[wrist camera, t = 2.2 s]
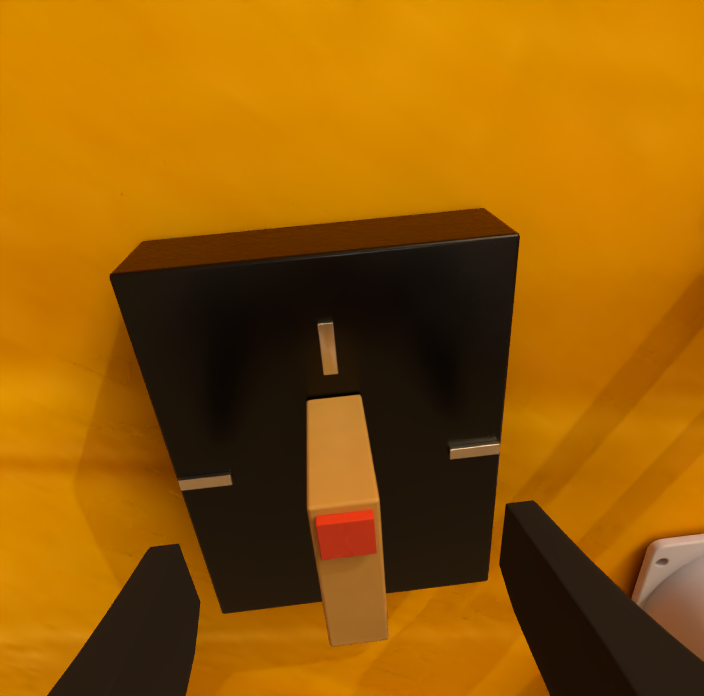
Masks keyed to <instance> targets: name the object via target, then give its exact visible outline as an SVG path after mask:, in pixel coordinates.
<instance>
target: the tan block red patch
mask: <svg viewBox="0 0 704 696" xmlns="http://www.w3.org/2000/svg"><path fill="white" fill-rule="evenodd" d="M306 473H307V514H308V520H309V526H310V532H311V537H312V543H313V549H314V555H315V561H316V567H317V573H318V579H319V585H320V591H321V596H322V602H323V608H324V614H325V620H326V626H327V632H328V638H329V643H330V645H331V646H333V647H335V646H343V645H350V644H358V643H366V642H374V641H381V640H387V639H388V636H389V632H388V617H387V602H386V587H385V572H384V557H383V542H382V527H381V512H380V499H379V493H378V487H377V482H376V476H375V470H374V465H373V459H372V453H371V448H370V442H369V436H368V431H367V425H366V419H365V414H364V408H363V402H362V397H361V396H360V395H350V396H341V397H332V398H323V399H314V400H308V401H307V403H306Z"/></svg>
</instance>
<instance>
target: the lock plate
mask: <svg viewBox="0 0 704 696" xmlns="http://www.w3.org/2000/svg"><path fill="white" fill-rule="evenodd" d="M519 239H520V236H519V233H517V232H516V231H514V230H513V229H512V228H510V227H509V226H508V225H506V224H505V223H504V222H502V221H501V220H500V219H498V218H497V217H495V216H494V215H493V214H491V213H490V212H489V211H487V210H486V209H484V208H480V209H470V210H459V211H449V212H439V213H429V214H418V215H408V216H398V217H388V218H377V219H367V220H357V221H347V222H336V223H326V224H316V225H306V226H295V227H285V228H275V229H265V230H254V231H244V232H234V233H224V234H213V235H203V236H193V237H183V238H172V239H162V240H152V241H143V242H141V243H140V244H139V245H138V246H137V247H136V248H135V249H134V250H133V251H132V252H131V254H130V255H129V256H128V257H127V258H126V259H125V260H124V261H123V262H122V263H121V264H120V265H119V266H118V267H117V268H116V269H115V270H114V271H113V272H112V273H111V274H110V281H111V284H112V287H113V289H114V292H115V295H116V298H117V301H118V304H119V307H120V310H121V313H122V316H123V319H124V322H125V325H126V328H127V331H128V334H129V337H130V340H131V343H132V346H133V349H134V352H135V355H136V358H137V361H138V364H139V367H140V370H141V373H142V376H143V379H144V382H145V385H146V388H147V390H148V393H149V396H150V399H151V402H152V405H153V408H154V411H155V414H156V417H157V420H158V423H159V426H160V429H161V432H162V435H163V438H164V441H165V444H166V447H167V450H168V453H169V456H170V459H171V462H172V465H173V468H174V471H175V474H176V477H177V480H178V483H179V486H180V489H181V491H182V494H183V497H184V500H185V503H186V506H187V509H188V512H189V515H190V518H191V521H192V524H193V527H194V530H195V533H196V536H197V539H198V542H199V545H200V548H201V551H202V554H203V557H204V560H205V563H206V566H207V569H208V572H209V575H210V578H211V581H212V584H213V587H214V589H215V592H216V595H217V598H218V601H219V604H220V607H221V610H222V613H223V614H227V613H235V612H243V611H251V610H259V609H267V608H275V607H283V606H291V605H299V604H307V603H315V602H322V596H321V591H320V585H319V579H318V573H317V567H316V561H315V555H314V549H313V543H312V537H311V532H310V526H309V520H308V514H307V473H306V403H307V401H308V400H314V399H323V398H332V397H341V396H350V395H360V396H361V397H362V402H363V408H364V414H365V419H366V425H367V431H368V436H369V442H370V448H371V453H372V459H373V465H374V470H375V476H376V482H377V487H378V493H379V499H380V512H381V527H382V542H383V557H384V572H385V587H386V593H394V592H402V591H410V590H418V589H426V588H434V587H442V586H450V585H458V584H466V583H474V582H482V581H487V580H488V571H489V561H490V550H491V539H492V528H493V518H494V507H495V496H496V486H497V475H498V464H499V453H500V443H501V432H502V421H503V411H504V400H505V389H506V378H507V368H508V357H509V346H510V336H511V325H512V314H513V303H514V293H515V282H516V271H517V261H518V250H519Z"/></svg>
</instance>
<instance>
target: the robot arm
mask: <svg viewBox="0 0 704 696" xmlns="http://www.w3.org/2000/svg"><path fill="white" fill-rule="evenodd" d="M499 565H500V568H501V572H502V575H503V578H504V581H505V585H506V588H507V591H508V594H509V597H510V600H511V603H512V607H513V610H514V613H515V615H516V617H517V620H518V622H519V624H520V627H521V629H522V631H523V634H524V636H525V638H526V641H527V643H528V645H529V648H530V650H531V652H532V655H533V657H534V659H535V661H536V664H537V666H538V668H539V671H540V673H541V675H542V678H543V680H544V682H545V684H546V687H547V689H548V691H549V694H550V696H704V534H696V535H688V536H680V537H672V538H664V539H658V540H656V541H654V542H652V543H651V544H650V545H649V546H648V548H647V551H646V555H645V558H644V561H643V564H642V567H641V570H640V573H639V576H638V579H637V582H636V585H635V588H634V591H633V594H632V597H631V598H630V597H629V596H628V595H626V594H625V593H624V592H623V591H622V590H621V589H620V588H619V587H618V586H617V585H616V584H615V583H614V582H613V581H612V580H611V579H610V578H609V577H608V576H607V575H606V574H605V573H604V572H603V571H602V570H600V569H599V568H598V567H597V566H596V565H595V564H594V563H593V562H592V561H591V560H590V559H589V558H588V557H587V556H586V555H585V554H584V553H583V552H582V551H581V550H580V549H579V547H578V546H577V545H576V544H575V543H574V542H573V541H572V540H571V539H570V538H569V537H568V536H567V535H566V534H565V533H564V532H563V531H562V530H561V529H560V528H559V527H558V526H557V525H556V523H555V522H554V521H553V520H552V519H551V518H550V517H549V516H548V515H547V514H546V513H545V512H544V511H543V510H542V508H541V507H540V506H539V505H538V504H537V503H536V502H534V501H525V502H517V503H508V504H506V508H505V517H504V527H503V536H502V545H501V554H500V563H499ZM199 610H200V600H199V597H198V595H197V592H196V589H195V586H194V584H193V581H192V578H191V576H190V573H189V570H188V567H187V565H186V562H185V559H184V557H183V554H182V551H181V548H180V546H179V544H172V545H164V546H155V547H150V548H149V549H148V550H147V552H146V553H145V555H144V556H143V558H142V559H141V561H140V562H139V564H138V566H137V567H136V569H135V570H134V572H133V573H132V575H131V576H130V578H129V580H128V581H127V583H126V584H125V586H124V587H123V589H122V590H121V592H120V593H119V595H118V596H117V598H116V599H115V601H114V602H113V604H112V605H111V607H110V608H109V610H108V611H107V613H106V614H105V616H104V617H103V619H102V620H101V622H100V623H99V625H98V626H97V627H96V629H95V630H94V632H93V633H92V635H91V636H90V638H89V639H88V640H87V642H86V643H85V645H84V646H83V648H82V649H81V651H80V652H79V653H78V655H77V656H76V658H75V659H74V660H73V662H72V663H71V664H70V666H69V667H68V668H67V670H66V671H65V672H64V674H63V675H62V676H61V678H60V679H59V680H58V682H57V683H56V684H55V686H54V687H53V688H52V690H51V691H50V692H49V694H48V695H47V696H186V692H187V687H188V683H189V678H190V673H191V669H192V664H193V659H194V654H195V647H196V638H197V630H198V620H199Z"/></svg>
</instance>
